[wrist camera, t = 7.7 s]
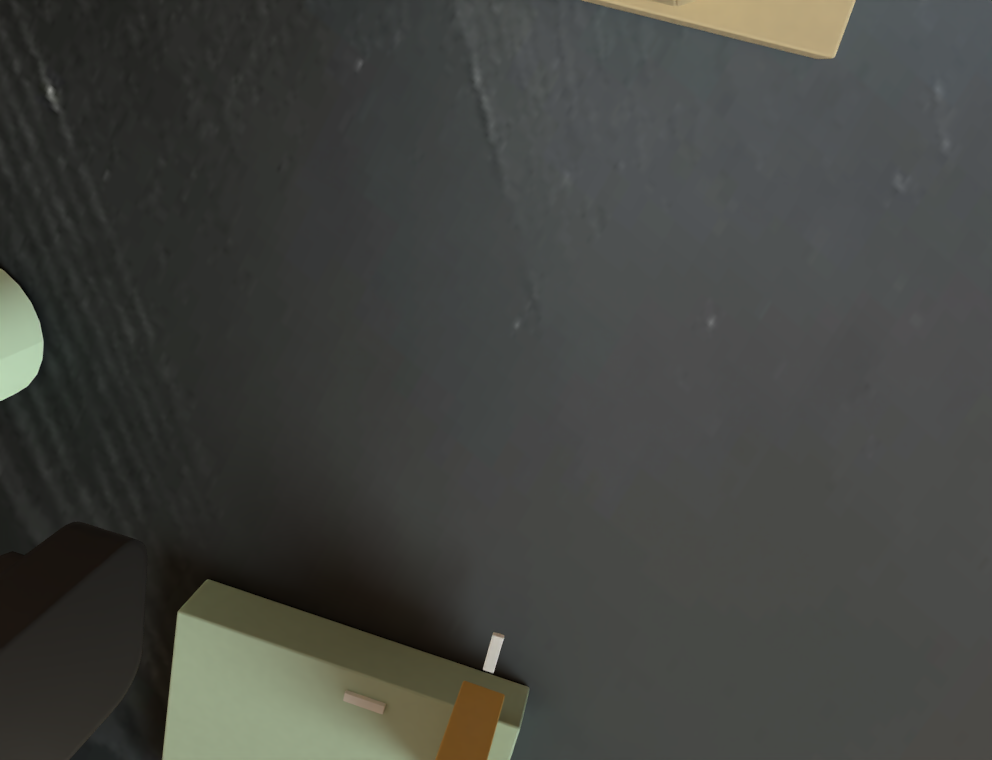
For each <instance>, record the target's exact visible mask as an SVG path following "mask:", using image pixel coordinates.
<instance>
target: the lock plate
mask: <svg viewBox="0 0 992 760" xmlns="http://www.w3.org/2000/svg"><path fill="white" fill-rule="evenodd" d="M503 640H504V635H501V634H498V633H495V632H493V635H492V638H491V642H490V645H489V649H488V652H487V656H486V659H485V662H484V666H483V670H485V671H488V672H491V673H494V670H495V667H496V663H497V660H498V656H499V653H500V650H501V646H502V643H503ZM463 681H467V682H470V683H473V684H476V685H479V686H482V687H485V688H487V689H490V690H493V691H496V692H499V693H502V694H504V695H505V698H504V702H503V705H502V709H501V712H500V716H499V720H498V723H497V727H496V730H495V734H494V738H493V741H492V745H491V748H490V752H489V756H488V759H487V760H510V759H511V756H512V753H513V749H514V746H515V743H516V740H517V737H518V734H519V731H520V728H521V723H522V719H523V715H524V711H525V707H526V703H527V698H528V694H529V687H527V686H524V685H521V684H518V683H515V682H512V681H509V680H506V679H503V678H500V677H497V676H494V675H491V674H488V673H485V672H482V671H479V670H476V669H474V668H471V667H468V666H465V665H462V664H459V663H456V662H453V661H450V660H447V659H444V658H441V657H438V656H435V655H432V654H429V653H426V652H423V651H420V650H417V649H414V648H411V647H408V646H405V645H402V644H399V643H396V642H393V641H390V640H387V639H384V638H381V637H379V636H376V635H373V634H370V633H367V632H364V631H361V630H358V629H355V628H352V627H349V626H346V625H343V624H340V623H337V622H334V621H331V620H328V619H325V618H322V617H319V616H316V615H313V614H310V613H307V612H304V611H301V610H298V609H295V608H292V607H289V606H287V605H284V604H281V603H278V602H275V601H272V600H269V599H266V598H263V597H260V596H257V595H254V594H251V593H248V592H245V591H242V590H239V589H236V588H233V587H230V586H227V585H224V584H221V583H218V582H215V581H212V580H209V579H207V580H206V581H205V582H204V583H203V584H202V585H201V586H200V588H199V589H198V590H197V591H196V592H195V593H194V594H193V595H192V596H191V597H190V598H189V599H188V601H187V602H186V603H185V604H184V605H183V606H182V607H181V608H180V609H179V610H178V612H177V621H176V631H175V640H174V650H173V660H172V669H171V679H170V688H169V698H168V708H167V717H166V727H165V737H164V746H163V756H162V760H435V759H436V756H437V753H438V750H439V747H440V745H441V742H442V739H443V736H444V733H445V730H446V728H447V725H448V722H449V719H450V716H451V713H452V711H453V708H454V705H455V702H456V699H457V696H458V694H459V691H460V688H461V685H462V682H463Z"/></svg>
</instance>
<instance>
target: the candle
mask: <svg viewBox="0 0 992 760" xmlns="http://www.w3.org/2000/svg"><path fill="white" fill-rule="evenodd" d="M43 342H44V341H43V336H42V331H41V325H40V321H39V319H38V317H37V314H36V312H35V310H34V307H33V305H32V303H31V301H30V300H29V299H28V297H27V296H26V294H25V293H24V291H23V290H22V289H21V287H20V286H19V285H18V284H17V283H16V282H15V281H14V280H13V279H12V278H11V277H10V276H9V275H8V274H7V273H6V272H5V271H4V270H2V269H0V401H2V400H4V399H6V398H8V397H10V396H12V395H14V394H16V393H17V392H19V391H21V390H22V389H24V388H26V387H27V386H28V385H29V384H30V383H31V381H32V380H33V379H34V378H35V376H36V375H37V373H38V371H39V368H40V365H41V362H42V359H43Z"/></svg>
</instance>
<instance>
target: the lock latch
mask: <svg viewBox="0 0 992 760" xmlns="http://www.w3.org/2000/svg"><path fill="white" fill-rule="evenodd" d="M504 698H505V695H504V694H502V693H499V692H496V691H493V690H490V689H487V688H485V687H482V686H479V685H476V684H473V683H470V682H467V681H463V682H462V685H461V688H460V691H459V694H458V696H457V699H456V702H455V705H454V708H453V711H452V713H451V716H450V719H449V722H448V725H447V728H446V730H445V733H444V736H443V739H442V742H441V745H440V747H439V750H438V753H437V756H436V759H435V760H487V759H488V756H489V752H490V748H491V745H492V741H493V738H494V734H495V730H496V727H497V723H498V720H499V716H500V712H501V709H502V705H503V702H504Z"/></svg>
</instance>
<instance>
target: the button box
mask: <svg viewBox="0 0 992 760" xmlns="http://www.w3.org/2000/svg"><path fill="white" fill-rule="evenodd" d="M582 1H586V2H590V3H594V4H598V5H602V6H606V7H610V8H614V9H618V10H622V11H626V12H630V13H634V14H638V15H642V16H646V17H650V18H654V19H658V20H662V21H666V22H670V23H674V24H678V25H682V26H686V27H690V28H694V29H698V30H702V31H706V32H710V33H714V34H718V35H722V36H726V37H730V38H734V39H738V40H742V41H746V42H750V43H754V44H758V45H762V46H767V47H771V48H775V49H779V50H783V51H787V52H791V53H795V54H799V55H803V56H807V57H811V58H815V59H830V58H834V57H835V55H836V53H837V50H838V47H839V45H840V42H841V39H842V36H843V34H844V31H845V28H846V25H847V23H848V20H849V17H850V15H851V12H852V9H853V6H854V4H855V1H856V0H582Z"/></svg>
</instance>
